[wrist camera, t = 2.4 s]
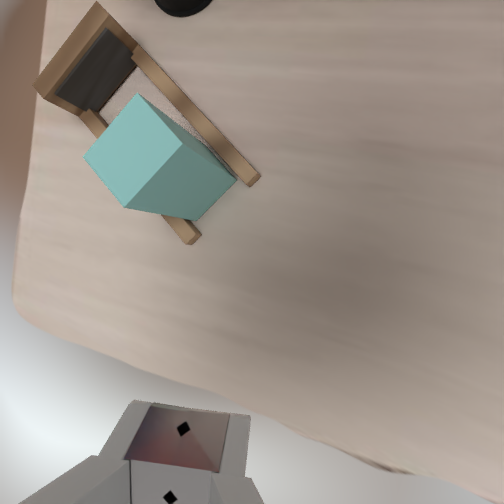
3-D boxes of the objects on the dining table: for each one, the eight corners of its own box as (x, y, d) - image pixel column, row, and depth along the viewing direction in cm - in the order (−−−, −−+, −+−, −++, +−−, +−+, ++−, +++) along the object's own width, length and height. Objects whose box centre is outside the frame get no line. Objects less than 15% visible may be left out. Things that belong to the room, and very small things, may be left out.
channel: (260, 176, 32) (244, 161, 27) (192, 244, 34) (162, 243, 28) (135, 40, 36) (96, 0, 30) (79, 110, 38) (32, 85, 32)
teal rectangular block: (236, 180, 33) (182, 143, 21) (196, 221, 34) (123, 207, 23) (205, 145, 34) (137, 92, 22) (167, 186, 35) (82, 156, 23)
